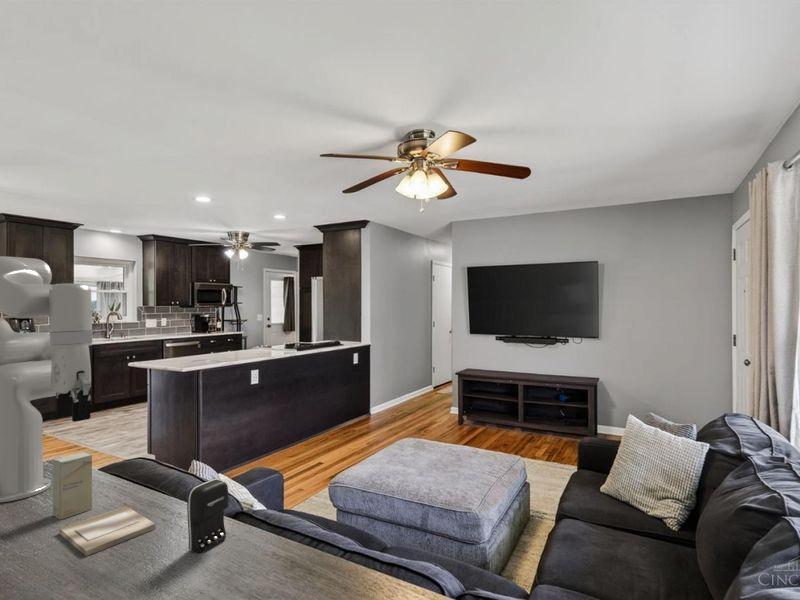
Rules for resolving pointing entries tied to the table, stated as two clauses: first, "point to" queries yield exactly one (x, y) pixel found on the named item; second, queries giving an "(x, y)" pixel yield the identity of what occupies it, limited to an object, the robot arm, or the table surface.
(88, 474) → the skincare box
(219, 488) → the battery charger
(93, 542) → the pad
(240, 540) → the table surface
